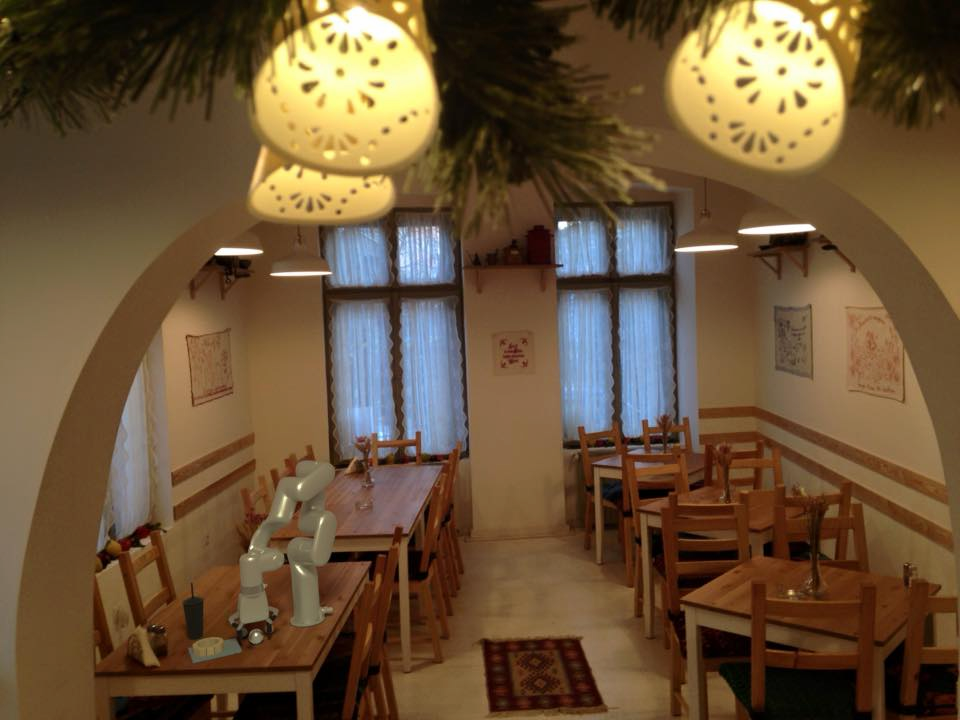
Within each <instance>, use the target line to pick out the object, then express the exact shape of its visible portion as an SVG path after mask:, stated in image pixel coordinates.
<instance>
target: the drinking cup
mask: <svg viewBox="0 0 960 720" xmlns="http://www.w3.org/2000/svg"><path fill="white" fill-rule="evenodd" d="M190 592H191V596H189V597H187V598H185V599H183V600H182V601H181V604H182V607H183V612H184V618H185V623H186V629H187V630H186V631H187V635H188V640H191V641H192V640H194V641H195V640H200V639H202V637H204V601H205V598H204V597H203V596H199V595H194V583H193V582H190Z"/></svg>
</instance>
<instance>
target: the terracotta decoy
mask: <svg viewBox="0 0 960 720" xmlns="http://www.w3.org/2000/svg"><path fill="white" fill-rule="evenodd" d="M274 629H275V627H274V625H273V624H272V632H271V634H272V633H273V632H274V631H275V630H274ZM264 632H265V633H266V634H267V627H266V626H265V627H264Z"/></svg>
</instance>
